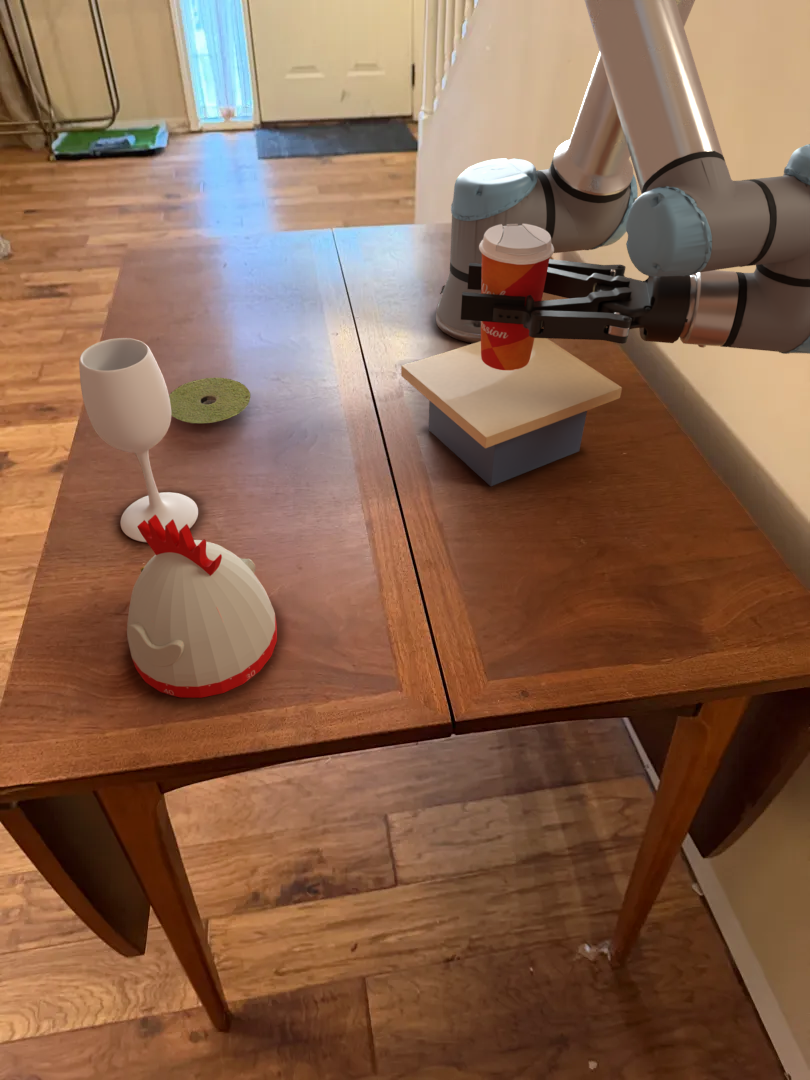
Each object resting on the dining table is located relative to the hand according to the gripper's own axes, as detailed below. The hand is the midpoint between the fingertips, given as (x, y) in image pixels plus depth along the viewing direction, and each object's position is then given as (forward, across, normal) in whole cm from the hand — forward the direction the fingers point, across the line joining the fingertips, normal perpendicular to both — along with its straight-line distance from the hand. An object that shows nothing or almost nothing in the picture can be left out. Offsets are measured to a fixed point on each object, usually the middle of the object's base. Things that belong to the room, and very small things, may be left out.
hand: (465, 290), depth 84 cm
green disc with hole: (+34, +4, -22) cm, 41 cm away
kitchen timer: (+21, -34, -22) cm, 46 cm away
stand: (-6, +4, -22) cm, 23 cm away
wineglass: (+32, -18, -22) cm, 43 cm away
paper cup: (-5, 0, -8) cm, 9 cm away
